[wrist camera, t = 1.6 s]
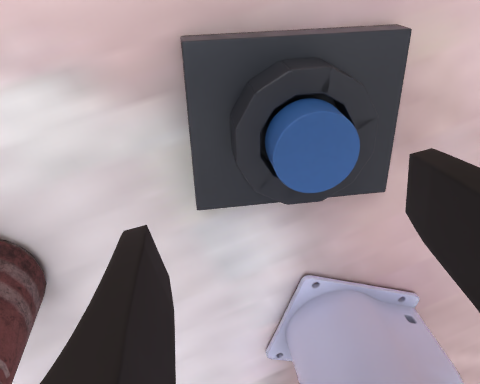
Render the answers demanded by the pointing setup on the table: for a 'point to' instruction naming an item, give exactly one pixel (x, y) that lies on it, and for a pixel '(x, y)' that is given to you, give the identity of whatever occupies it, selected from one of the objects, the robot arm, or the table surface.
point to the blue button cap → (311, 145)
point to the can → (17, 304)
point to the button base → (281, 94)
